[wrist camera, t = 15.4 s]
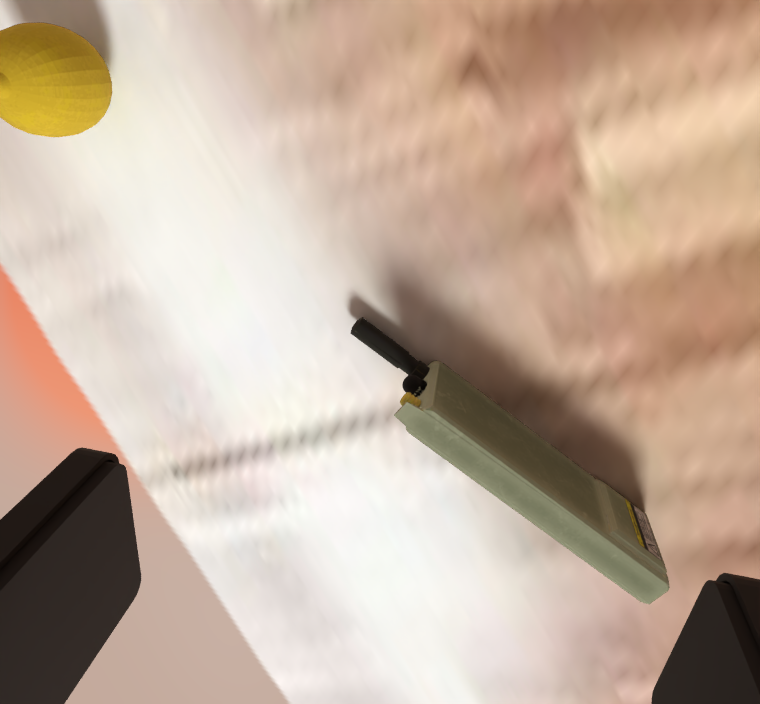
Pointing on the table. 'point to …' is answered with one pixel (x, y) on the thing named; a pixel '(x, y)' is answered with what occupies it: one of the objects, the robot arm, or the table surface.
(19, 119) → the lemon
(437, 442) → the handheld radio
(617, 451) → the table surface
